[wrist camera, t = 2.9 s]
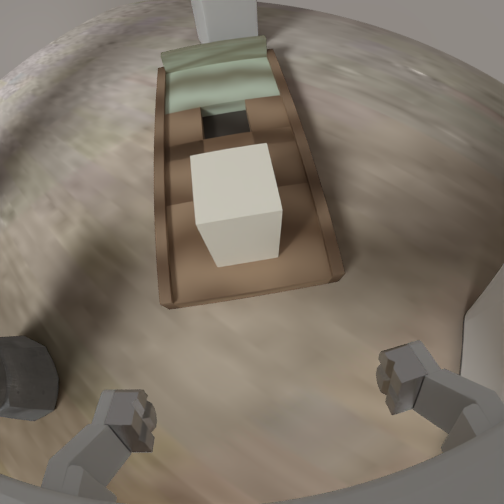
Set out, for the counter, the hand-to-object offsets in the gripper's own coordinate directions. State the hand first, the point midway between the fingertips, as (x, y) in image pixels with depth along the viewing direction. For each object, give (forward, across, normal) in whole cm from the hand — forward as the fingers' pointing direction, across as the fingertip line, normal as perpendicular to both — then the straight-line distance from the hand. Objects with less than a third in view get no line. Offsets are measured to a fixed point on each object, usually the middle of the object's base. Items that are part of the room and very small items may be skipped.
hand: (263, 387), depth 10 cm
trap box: (+26, 0, -4) cm, 27 cm away
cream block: (+18, 0, +2) cm, 18 cm away
